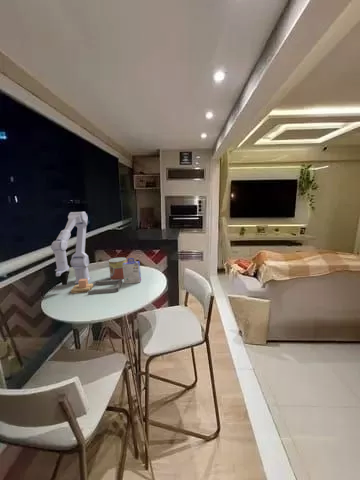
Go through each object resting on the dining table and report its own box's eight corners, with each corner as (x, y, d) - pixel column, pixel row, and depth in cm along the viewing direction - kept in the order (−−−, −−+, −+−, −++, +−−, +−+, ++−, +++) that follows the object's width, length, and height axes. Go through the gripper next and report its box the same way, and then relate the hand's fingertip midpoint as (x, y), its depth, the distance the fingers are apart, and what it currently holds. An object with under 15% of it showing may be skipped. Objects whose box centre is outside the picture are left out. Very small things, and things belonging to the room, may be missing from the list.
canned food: (107, 277, 168) (105, 260, 165) (122, 273, 175) (120, 256, 173) (115, 281, 159) (113, 262, 157) (131, 276, 167) (129, 258, 164)
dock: (95, 283, 157) (95, 280, 157) (122, 281, 158) (122, 278, 158) (87, 295, 140) (87, 291, 140) (117, 292, 141) (117, 288, 141)
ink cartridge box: (141, 279, 160) (139, 257, 157) (140, 282, 154) (138, 259, 152) (125, 280, 159) (123, 258, 157) (124, 284, 154) (121, 260, 151)
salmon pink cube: (81, 285, 150) (80, 278, 149) (88, 284, 150) (87, 278, 149) (79, 287, 146) (78, 281, 145) (86, 287, 146) (85, 280, 145)
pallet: (76, 288, 152) (75, 284, 152) (93, 287, 153) (92, 283, 152) (71, 293, 144) (70, 289, 144) (89, 292, 145) (89, 288, 144)
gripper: (59, 258, 152) (62, 280, 154) (48, 265, 137) (52, 289, 140) (71, 258, 152) (74, 279, 154) (62, 264, 138) (65, 288, 140)
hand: (64, 284), depth 147 cm, fingers closed
